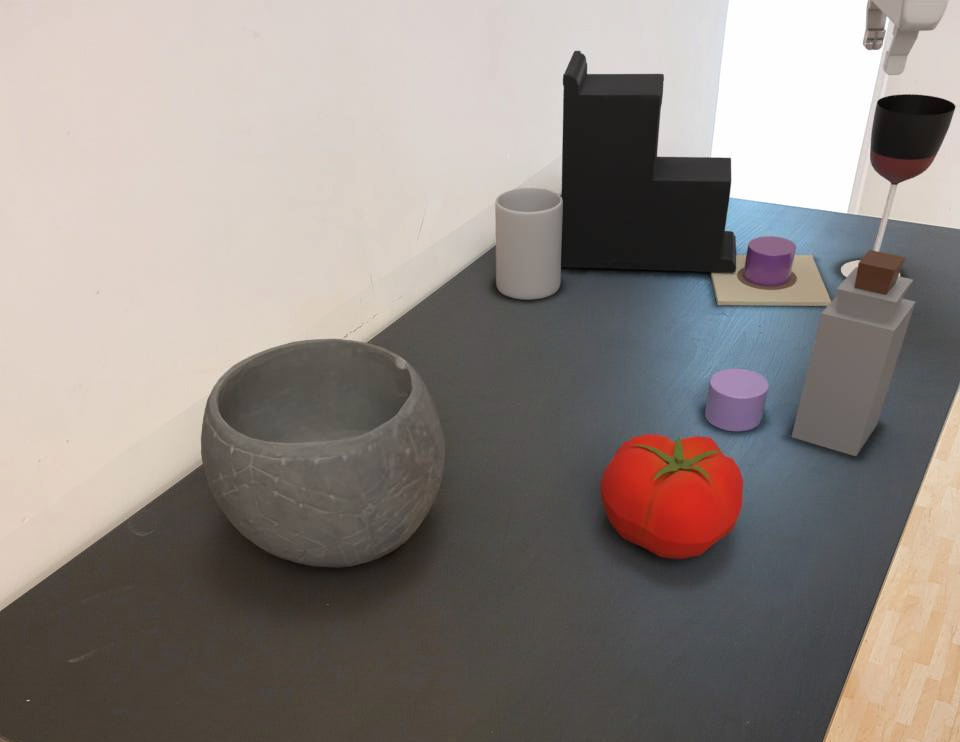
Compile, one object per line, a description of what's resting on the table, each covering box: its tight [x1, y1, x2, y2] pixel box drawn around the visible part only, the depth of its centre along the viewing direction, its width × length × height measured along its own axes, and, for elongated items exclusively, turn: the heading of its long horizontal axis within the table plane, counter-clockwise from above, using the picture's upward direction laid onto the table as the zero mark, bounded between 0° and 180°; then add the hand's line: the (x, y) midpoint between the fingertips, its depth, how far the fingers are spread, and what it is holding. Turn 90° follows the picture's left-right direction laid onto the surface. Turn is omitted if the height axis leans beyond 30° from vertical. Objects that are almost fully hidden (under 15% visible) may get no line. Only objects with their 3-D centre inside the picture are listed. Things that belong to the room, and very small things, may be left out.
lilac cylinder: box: [704, 368, 770, 432], centre depth 99 cm, size 6×6×4 cm
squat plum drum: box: [743, 235, 797, 286], centre depth 121 cm, size 6×6×4 cm
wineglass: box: [840, 93, 957, 278], centre depth 117 cm, size 8×9×20 cm
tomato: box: [599, 433, 744, 560], centre depth 84 cm, size 14×13×9 cm
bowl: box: [200, 338, 447, 569], centre depth 83 cm, size 21×21×15 cm
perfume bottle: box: [791, 249, 916, 457], centre depth 91 cm, size 7×7×18 cm
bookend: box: [560, 50, 737, 273], centre depth 120 cm, size 23×11×24 cm, turn 79°
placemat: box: [709, 254, 832, 307], centre depth 122 cm, size 14×14×1 cm
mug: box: [494, 187, 563, 301], centre depth 121 cm, size 12×8×11 cm
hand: (881, 60), depth 98 cm, fingers open, 8 cm apart
